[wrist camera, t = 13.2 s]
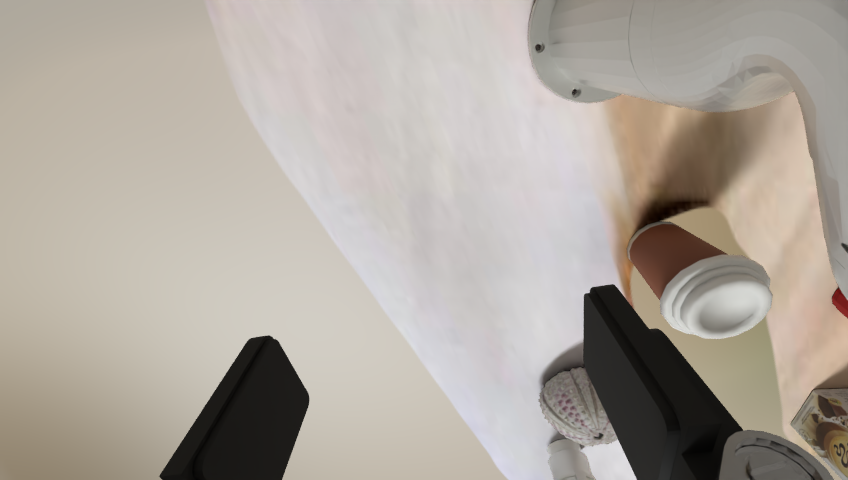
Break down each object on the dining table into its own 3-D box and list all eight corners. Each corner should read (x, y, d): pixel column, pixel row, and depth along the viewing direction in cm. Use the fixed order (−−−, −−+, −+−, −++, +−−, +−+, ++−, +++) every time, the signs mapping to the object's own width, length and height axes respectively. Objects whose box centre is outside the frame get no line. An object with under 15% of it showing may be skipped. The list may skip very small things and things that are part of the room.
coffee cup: (713, 220, 39) (813, 281, 29) (668, 282, 44) (741, 355, 33) (639, 202, 38) (715, 259, 28) (601, 268, 43) (654, 338, 32)
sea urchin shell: (610, 415, 57) (634, 466, 50) (528, 412, 57) (541, 462, 50) (634, 359, 51) (666, 409, 44) (542, 356, 51) (559, 405, 44)
